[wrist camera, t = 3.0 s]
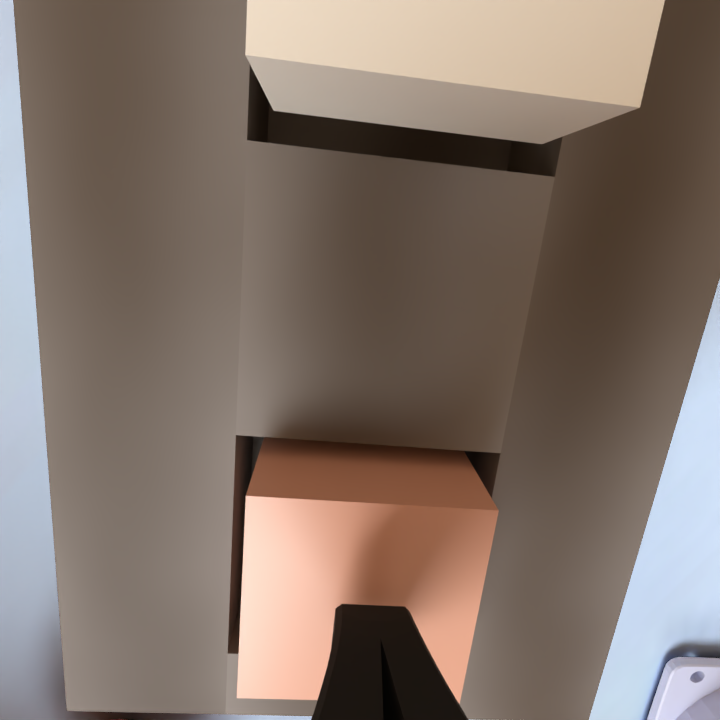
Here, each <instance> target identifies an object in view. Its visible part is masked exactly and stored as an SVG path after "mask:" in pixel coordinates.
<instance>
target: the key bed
mask: <svg viewBox="0 0 720 720" xmlns="http://www.w3.org/2000/svg"><path fill="white" fill-rule="evenodd" d="M13 3H14V16H15V29H16V43H17V56H18V69H19V83H20V96H21V109H22V123H23V136H24V149H25V163H26V176H27V189H28V203H29V216H30V229H31V243H32V256H33V269H34V283H35V296H36V309H37V323H38V336H39V349H40V363H41V376H42V389H43V402H44V416H45V429H46V442H47V456H48V469H49V482H50V496H51V509H52V522H53V536H54V549H55V562H56V576H57V589H58V602H59V616H60V629H61V642H62V656H63V669H64V682H65V696H66V709H67V711H92V712H140V713H188V714H236V715H283V716H313V713H314V710H315V707H316V704H317V700H292V699H250V698H237V680H238V658H239V636H240V614H241V591H242V569H243V547H244V525H245V503H246V494H247V490H248V487H249V484H250V481H251V477H252V474H253V471H254V468H255V465H256V461H257V458H258V455H259V452H260V448H261V445H262V442H263V439H264V437H271V438H286V439H300V440H315V441H330V442H344V443H359V444H373V445H388V446H402V447H417V448H432V449H446V450H461V451H464V452H465V454H466V455H467V457H468V459H469V461H470V462H471V464H472V466H473V467H474V469H475V471H476V473H477V474H478V476H479V478H480V479H481V481H482V483H483V484H484V486H485V488H486V490H487V491H488V493H489V495H490V496H491V498H492V500H493V502H494V503H495V505H496V507H497V508H498V510H499V512H498V517H497V522H496V527H495V532H494V537H493V542H492V547H491V552H490V557H489V562H488V566H487V571H486V576H485V581H484V586H483V591H482V596H481V601H480V606H479V611H478V616H477V621H476V626H475V631H474V636H473V641H472V646H471V650H470V655H469V660H468V665H467V670H466V675H465V680H464V685H463V690H462V695H461V700H460V703H459V705H460V706H461V708H462V710H463V711H464V713H465V715H466V716H467V718H468V719H474V720H589V716H590V713H591V710H592V706H593V703H594V699H595V696H596V693H597V689H598V686H599V683H600V679H601V676H602V673H603V669H604V666H605V662H606V659H607V656H608V652H609V649H610V646H611V642H612V639H613V635H614V632H615V629H616V625H617V622H618V619H619V615H620V612H621V608H622V605H623V602H624V598H625V595H626V592H627V588H628V585H629V582H630V578H631V575H632V571H633V568H634V565H635V561H636V558H637V555H638V551H639V548H640V544H641V541H642V538H643V534H644V531H645V528H646V524H647V521H648V517H649V514H650V511H651V507H652V504H653V501H654V497H655V494H656V490H657V487H658V484H659V480H660V477H661V474H662V470H663V467H664V464H665V460H666V457H667V453H668V450H669V447H670V443H671V440H672V437H673V433H674V430H675V426H676V423H677V420H678V416H679V413H680V410H681V406H682V403H683V399H684V396H685V393H686V389H687V386H688V383H689V379H690V376H691V373H692V369H693V366H694V362H695V359H696V356H697V352H698V349H699V346H700V342H701V339H702V335H703V332H704V329H705V325H706V322H707V319H708V315H709V312H710V308H711V305H712V302H713V298H714V295H715V292H716V288H717V285H718V281H719V278H720V0H665V2H664V6H663V11H662V15H661V19H660V23H659V28H658V32H657V36H656V41H655V45H654V49H653V54H652V58H651V62H650V67H649V71H648V75H647V80H646V84H645V88H644V92H643V97H642V101H641V105H640V108H638V109H635V110H632V111H630V112H627V113H624V114H622V115H619V116H616V117H614V118H611V119H608V120H606V121H603V122H600V123H598V124H595V125H592V126H589V127H587V128H584V129H581V130H579V131H576V132H573V133H571V134H568V135H565V136H563V137H560V138H557V139H555V140H552V141H549V142H547V143H544V144H536V143H528V142H520V141H512V140H504V139H496V138H488V137H480V136H472V135H464V134H456V133H448V132H440V131H432V130H424V129H416V128H408V127H400V126H392V125H384V124H376V123H368V122H360V121H352V120H344V119H336V118H328V117H320V116H312V115H304V114H296V113H288V112H280V111H273V109H272V107H271V105H270V103H269V101H268V99H267V97H266V95H265V93H264V91H263V89H262V87H261V85H260V83H259V81H258V79H257V77H256V75H255V73H254V71H253V69H252V67H251V65H250V63H249V61H248V59H247V57H246V55H245V49H246V20H247V0H13Z"/></svg>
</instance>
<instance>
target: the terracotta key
mask: <svg viewBox="0 0 720 720" xmlns="http://www.w3.org/2000/svg"><path fill="white" fill-rule="evenodd" d="M498 512H499V510H498V508H497V507H496V505H495V503H494V502H493V500H492V498H491V496H490V495H489V493H488V491H487V490H486V488H485V486H484V484H483V483H482V481H481V479H480V478H479V476H478V474H477V473H476V471H475V469H474V467H473V466H472V464H471V462H470V461H469V459H468V457H467V455H466V454H465V452H464V451H461V450H446V449H432V448H417V447H402V446H388V445H373V444H359V443H344V442H330V441H315V440H300V439H286V438H271V437H264V439H263V442H262V445H261V448H260V452H259V455H258V458H257V461H256V465H255V468H254V471H253V474H252V477H251V481H250V484H249V487H248V490H247V494H246V503H245V525H244V547H243V569H242V591H241V614H240V636H239V658H238V680H237V698H250V699H292V700H318V697H319V693H320V690H321V687H322V683H323V680H324V676H325V673H326V669H327V665H328V661H329V656H330V652H331V645H332V636H333V626H334V617H335V608H337V607H338V606H340V605H341V604H359V605H382V606H405V607H406V608H407V609H408V610H409V611H410V613H411V615H412V618H413V620H414V622H415V624H416V626H417V628H418V630H419V632H420V634H421V636H422V638H423V640H424V642H425V644H426V646H427V648H428V650H429V652H430V654H431V655H432V657H433V659H434V661H435V663H436V665H437V667H438V668H439V670H440V672H441V674H442V676H443V677H444V679H445V681H446V683H447V684H448V686H449V688H450V690H451V691H452V693H453V695H454V696H455V698H456V700H457V701H458V703H460V700H461V695H462V690H463V685H464V680H465V675H466V670H467V665H468V660H469V655H470V650H471V646H472V641H473V636H474V631H475V626H476V621H477V616H478V611H479V606H480V601H481V596H482V591H483V586H484V581H485V576H486V571H487V566H488V562H489V557H490V552H491V547H492V542H493V537H494V532H495V527H496V522H497V517H498Z"/></svg>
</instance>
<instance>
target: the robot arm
mask: <svg viewBox="0 0 720 720" xmlns="http://www.w3.org/2000/svg"><path fill="white" fill-rule="evenodd" d="M311 720H468V718H467V716H466V715H465V713H464V711H463V710H462V708H461V706H460V705H459V703H458V701H457V700H456V698H455V696H454V695H453V693H452V691H451V690H450V688H449V686H448V684H447V683H446V681H445V679H444V677H443V676H442V674H441V672H440V670H439V668H438V667H437V665H436V663H435V661H434V659H433V657H432V655H431V654H430V652H429V650H428V648H427V646H426V644H425V642H424V640H423V638H422V636H421V634H420V632H419V630H418V628H417V626H416V624H415V622H414V620H413V618H412V615H411V613H410V611H409V610H408V609H407V608H406V607H405V606H382V605H359V604H341V605H340V606H338V607H337V608H335V617H334V626H333V636H332V645H331V652H330V656H329V661H328V665H327V669H326V673H325V676H324V680H323V683H322V687H321V690H320V693H319V697H318V700H317V704H316V707H315V710H314V713H313V716H312V719H311ZM647 720H720V658H700V657H675V658H673V659H671V660H670V661H668V662H667V664H666V665H665V668H664V671H663V674H662V676H661V679H660V682H659V685H658V688H657V691H656V694H655V697H654V700H653V703H652V706H651V709H650V712H649V715H648V718H647Z"/></svg>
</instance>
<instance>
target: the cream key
mask: <svg viewBox="0 0 720 720" xmlns="http://www.w3.org/2000/svg"><path fill="white" fill-rule="evenodd" d="M664 2H665V0H247V20H246V49H245V55H246V57H247V59H248V61H249V63H250V65H251V67H252V69H253V71H254V73H255V75H256V77H257V79H258V81H259V83H260V85H261V87H262V89H263V91H264V93H265V95H266V97H267V99H268V101H269V103H270V105H271V107H272V109H273V111H280V112H288V113H296V114H304V115H312V116H320V117H328V118H336V119H344V120H352V121H360V122H368V123H376V124H384V125H392V126H400V127H408V128H416V129H424V130H432V131H440V132H448V133H456V134H464V135H472V136H480V137H488V138H496V139H504V140H512V141H520V142H528V143H536V144H544V143H547V142H549V141H552V140H555V139H557V138H560V137H563V136H565V135H568V134H571V133H573V132H576V131H579V130H581V129H584V128H587V127H589V126H592V125H595V124H598V123H600V122H603V121H606V120H608V119H611V118H614V117H616V116H619V115H622V114H624V113H627V112H630V111H632V110H635V109H638V108H640V105H641V101H642V97H643V92H644V88H645V84H646V80H647V75H648V71H649V67H650V62H651V58H652V54H653V49H654V45H655V41H656V36H657V32H658V28H659V23H660V19H661V15H662V11H663V6H664Z"/></svg>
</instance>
